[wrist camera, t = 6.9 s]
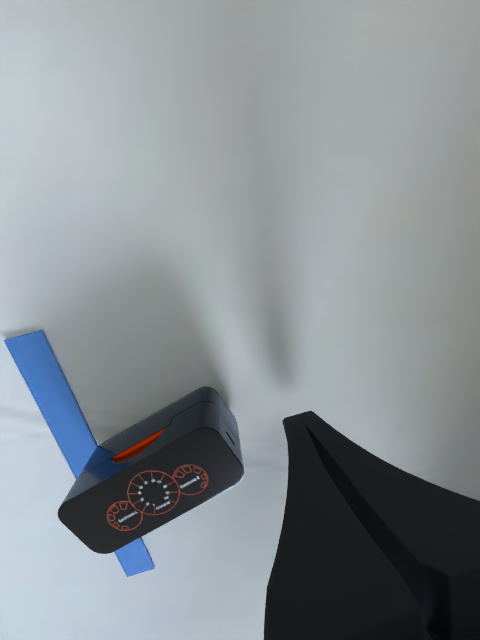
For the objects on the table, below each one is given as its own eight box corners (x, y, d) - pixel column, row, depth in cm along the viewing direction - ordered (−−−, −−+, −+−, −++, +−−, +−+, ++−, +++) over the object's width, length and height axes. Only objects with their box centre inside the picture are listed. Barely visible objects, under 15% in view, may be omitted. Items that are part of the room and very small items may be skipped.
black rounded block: (77, 451, 12) (29, 522, 9) (211, 376, 12) (210, 420, 8) (137, 515, 13) (113, 597, 10) (258, 448, 13) (274, 510, 10)
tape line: (154, 566, 14) (154, 568, 14) (127, 574, 14) (127, 576, 14) (42, 330, 10) (41, 330, 10) (5, 339, 10) (3, 340, 10)
